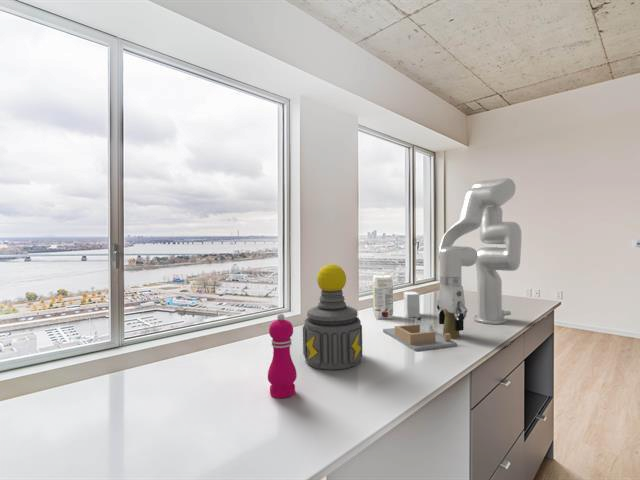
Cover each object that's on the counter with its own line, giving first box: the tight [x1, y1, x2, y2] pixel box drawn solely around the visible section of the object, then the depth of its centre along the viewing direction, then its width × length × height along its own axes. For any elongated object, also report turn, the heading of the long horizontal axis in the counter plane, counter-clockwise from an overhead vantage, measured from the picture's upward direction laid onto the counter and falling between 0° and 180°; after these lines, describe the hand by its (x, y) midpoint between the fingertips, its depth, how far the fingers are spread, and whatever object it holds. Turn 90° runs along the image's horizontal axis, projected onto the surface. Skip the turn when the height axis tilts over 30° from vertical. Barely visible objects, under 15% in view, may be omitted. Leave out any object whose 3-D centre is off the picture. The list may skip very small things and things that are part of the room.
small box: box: [403, 291, 421, 318], centre depth 169 cm, size 8×6×10 cm
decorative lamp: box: [302, 263, 363, 371], centre depth 113 cm, size 19×19×30 cm
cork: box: [442, 309, 461, 340], centre depth 136 cm, size 6×6×11 cm
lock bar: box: [415, 315, 434, 332], centre depth 142 cm, size 2×10×4 cm, turn 15°
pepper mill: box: [267, 313, 297, 399], centre depth 91 cm, size 7×7×20 cm
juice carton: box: [372, 274, 394, 320], centre depth 166 cm, size 8×9×19 cm
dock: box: [382, 323, 457, 352], centre depth 134 cm, size 16×24×4 cm, turn 16°
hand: (450, 327), depth 135 cm, fingers open, 9 cm apart
